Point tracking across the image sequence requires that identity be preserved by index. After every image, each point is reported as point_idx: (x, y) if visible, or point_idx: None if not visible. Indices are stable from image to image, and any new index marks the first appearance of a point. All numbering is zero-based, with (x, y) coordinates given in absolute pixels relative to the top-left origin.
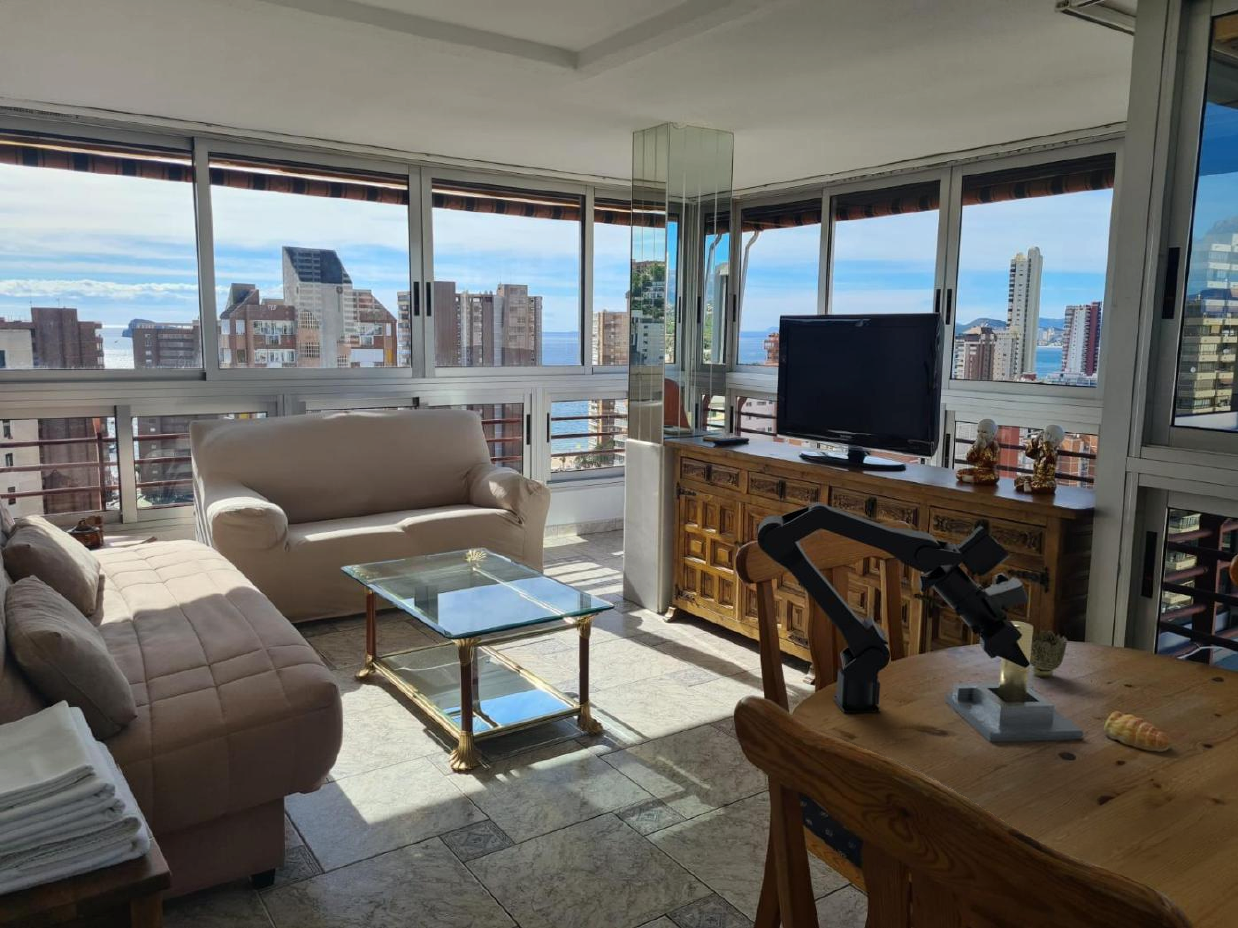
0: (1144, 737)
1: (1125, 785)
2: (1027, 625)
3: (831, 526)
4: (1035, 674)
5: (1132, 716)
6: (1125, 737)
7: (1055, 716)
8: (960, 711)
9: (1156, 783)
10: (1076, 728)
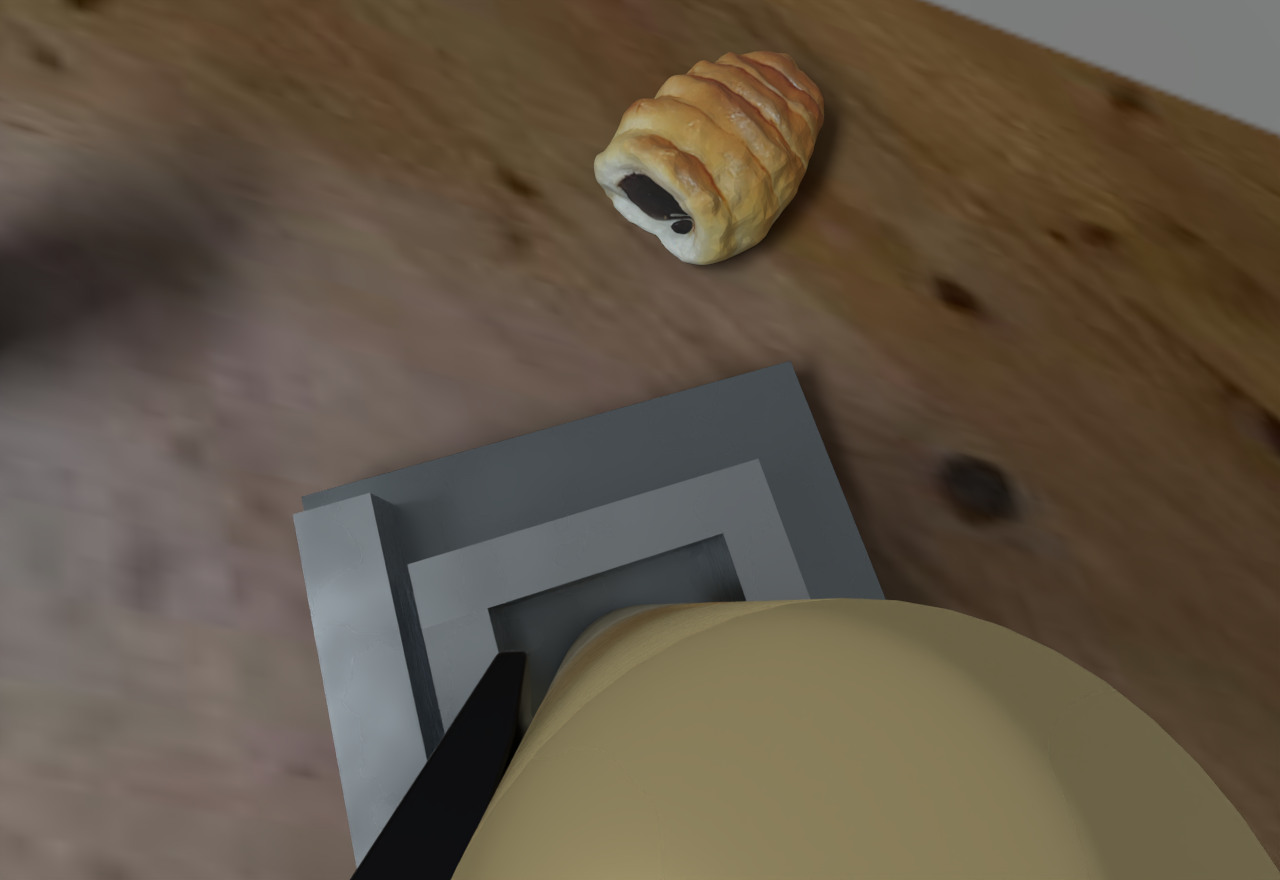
0: (807, 137)
1: (1149, 341)
2: (813, 766)
3: None
4: None
5: (686, 108)
6: (784, 205)
7: (649, 446)
8: None
9: (1083, 231)
10: (773, 384)
